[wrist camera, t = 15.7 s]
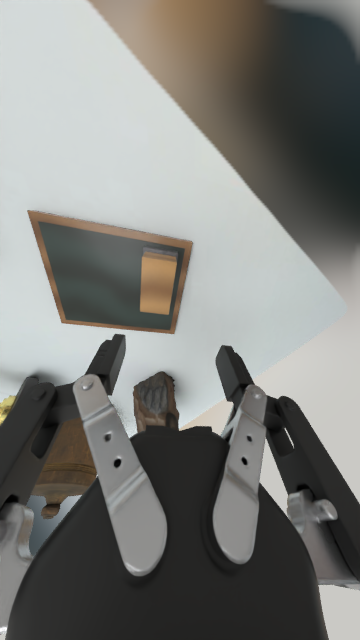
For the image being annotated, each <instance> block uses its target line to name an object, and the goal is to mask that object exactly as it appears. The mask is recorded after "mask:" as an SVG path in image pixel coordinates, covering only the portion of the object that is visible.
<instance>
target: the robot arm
mask: <svg viewBox="0 0 360 640" xmlns="http://www.w3.org/2000/svg"><path fill="white" fill-rule="evenodd" d="M125 351H126V342H125V335H121V334H115V335H114V336H113V339H112V340H106V341H105V342H103V343H102V344H101V346H100V347H99V349H98V351H97V353H96V356H95V357H94V359H93V360H92V362H91V364H90V366H89V368H88V370H87V372H86V373H85V375H84V376H82V377H80V378H79V379H77V380H76V382H74V383H71V384H66V385H62V386H57V387H55V386H54V385H53V384H52V383H48V382H45V383H40V384H37V385H35V386H33V387H31V388H29V389H28V390H27V391H26V392H25V393H24V394H23V395H22V397H21V398H20V399H19V401H18V402H17V403H16V405H15V406H14V407H13V409H12V410H11V411H10V413H9V414H8V415H7V417H6V418H5V419H4V421H3V422H2V423H1V425H0V635H1V634H4V633H6V638H5V640H329V638H328V634H327V630H326V626H325V622H324V617H323V612H322V606H321V600H320V593H319V587H318V585H336V586H340V587H345V588H350V589H356V590H360V504H359V502H358V501H357V499H356V498H355V496H354V494H353V493H352V491H351V489H350V488H349V486H348V485H347V483H346V481H345V480H344V478H343V476H342V475H341V473H340V472H339V470H338V468H337V467H336V465H335V464H334V462H333V460H332V459H331V457H330V456H329V454H328V453H327V451H326V449H325V448H324V446H323V444H322V443H321V442H320V440H319V438H318V436H317V435H316V433H315V432H314V430H313V428H312V427H311V425H310V423H309V422H308V420H307V419H306V417H305V416H304V414H303V412H302V411H301V409H300V408H299V406H298V405H297V404H296V402H294V401H293V400H292V399H290V398H289V397H286V396H281V397H280V398H279V399H276V398H273V397H270V396H267V395H266V394H265V392H264V391H263V390H262V389H261V388H260V387H258V386H256V385H255V384H254V382H253V380H252V378H251V376H250V374H249V372H248V370H247V368H246V366H245V364H244V362H243V360H242V358H241V357H240V356H239V355H238V354H237V353H235V352H234V350H233V348H232V347H231V346H225V345H222V346H221V348H220V350H219V352H218V354H217V357H216V366H217V370H218V373H219V376H220V380H221V383H222V386H223V389H224V393H225V396H226V399H227V401H230V402H233V404H234V405H233V407H232V409H231V412H230V414H229V417H228V420H227V423H226V425H225V428H224V430H223V432H222V434H221V436H219V435H218V434H216V433H214V432H212V428H211V427H209V426H207V427H205V426H203V427H202V426H195V427H193V428H189V429H185V430H182V431H178V430H175V429H172V428H169V427H166V426H159V425H146V429H145V430H144V431H141V432H139V433H137V434H135V435H133V436H132V437H131V438H129V437H128V435H127V433H126V431H125V429H124V427H123V424H122V422H121V420H120V418H119V416H118V414H117V411H116V409H115V407H114V406H113V405H112V404H111V402H110V400H109V398H108V396H107V395H112V393H113V390H114V387H115V384H116V381H117V378H118V375H119V371H120V368H121V365H122V362H123V359H124V356H125ZM79 417H81V419H82V424H83V427H84V431H85V434H86V437H87V441H88V444H89V448H90V451H91V454H92V458H93V461H94V464H95V468H96V471H97V474H98V476H97V478H96V479H95V480H94V481H93V483H92V484H91V485H90V486H89V487H88V489H87V490H86V491H85V492H84V494H83V495H82V496H81V497H80V499H79V500H78V501H77V502H76V503H75V505H74V506H73V507H72V508H71V510H70V511H69V512H68V513H67V515H66V516H65V517H64V518H63V520H62V521H61V522H60V523H59V524H58V526H57V527H56V528H55V530H54V531H53V532H52V533H51V534H50V536H49V537H48V538H47V539H46V541H45V542H44V543H43V545H42V546H41V547H40V549H39V550H38V552H37V553H36V555H35V556H34V557H33V556H32V555H31V554H30V551H29V537H30V533H31V529H32V526H33V521H34V515H33V511H32V510H31V509H30V508H29V507H26V504H27V502H28V500H29V498H30V495H31V493H32V491H33V489H34V487H35V484H36V482H37V480H38V478H39V476H40V473H41V471H42V469H43V467H44V465H45V462H46V460H47V458H48V456H49V454H50V451H51V449H52V447H53V445H54V443H55V440H56V438H57V436H58V434H59V432H60V429H61V427H62V425H63V423H64V422H66V421H69V420H73V419H76V418H79ZM284 428H286V430H287V431H288V433H289V435H290V438H291V440H292V442H293V444H294V448H293V446H292V444H291V442H290V440H289V437H288V435H287V433H286V431H285V429H284ZM265 437H266V439H267V441H268V444H269V447H270V449H271V452H272V454H273V457H274V459H275V462H276V465H277V467H278V470H279V472H280V475H281V478H282V480H283V483H284V485H285V488H286V491H287V493H288V500H287V505H288V508H287V514H288V517H289V518H288V517H287V516H286V515H285V513H284V512H283V511H282V510H281V508H280V507H279V506H278V505H277V503H276V502H275V501H274V500H273V498H272V497H271V496H270V495H269V493H268V492H267V491H266V490H265V488H264V487H263V486H262V485H261V483H260V482H259V480H260V473H261V465H262V458H263V451H264V444H265ZM289 519H290V520H291V521H290V520H289Z"/></svg>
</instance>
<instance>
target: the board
mask: <svg viewBox="0 0 360 640" xmlns="http://www.w3.org/2000/svg"><path fill="white" fill-rule="evenodd" d="M28 214H29V218H30V221H31V224H32V228H33V231H34V234H35V237H36V241H37V244H38V247H39V250H40V254H41V257H42V260H43V263H44V267H45V270H46V273H47V276H48V280H49V283H50V286H51V289H52V293H53V296H54V299H55V303H56V306H57V309H58V312H59V316H60V319H61V322H62V323H66V324H76V325H86V326H96V327H107V328H117V329H127V330H137V331H148V332H158V333H168V334H174V332H175V327H176V322H177V317H178V313H179V308H180V303H181V298H182V293H183V288H184V283H185V278H186V273H187V268H188V263H189V258H190V254H191V249H192V244H193V242H192V241H187V240H182V239H177V238H172V237H167V236H162V235H157V234H151V233H146V232H141V231H136V230H131V229H126V228H121V227H116V226H110V225H105V224H100V223H95V222H90V221H85V220H80V219H75V218H70V217H64V216H59V215H54V214H49V213H44V212H39V211H31V210H28ZM144 246H150V247H156V248H161V249H167V250H172V251H178V259H177V265H176V272H175V278H174V284H173V290H172V296H171V303H170V309H169V314H168V315H166V314H157V313H149V312H140V295H141V269H142V256H143V247H144Z"/></svg>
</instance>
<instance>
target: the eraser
mask: <svg viewBox="0 0 360 640" xmlns="http://www.w3.org/2000/svg"><path fill="white" fill-rule="evenodd" d="M177 259H178V251H172V250H167V249H161V248H156V247H150V246H144V247H143V256H142V269H141V295H140V312H149V313H157V314H166V315H168V314H169V309H170V303H171V296H172V290H173V284H174V278H175V272H176V265H177Z"/></svg>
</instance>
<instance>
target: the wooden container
mask: <svg viewBox="0 0 360 640" xmlns="http://www.w3.org/2000/svg"><path fill="white" fill-rule="evenodd" d="M96 475H97V471H96V468H95V464H94V461H93V458H92V454H91V451H90V448H89V444H88V441H87V437H86V434H85V431H84V427H83V424H82V419H81V417H79V418H76V419H73V420H69V421H66V422H64V423H63V425H62V427H61V429H60V432H59V434H58V436H57V438H56V440H55V443H54V445H53V447H52V449H51V451H50V454H49V456H48V458H47V460H46V462H45V465H44V467H43V469H42V471H41V473H40V476H39V478H38V480H37V482H36V484H35V487H34V489H33V491H32V493H31V495H36V496H44V497H45V498H46V503H47V505H46V506H45V507H44V508H43V509H42V512H41V516H43V519H51V518H53V516H55V515H57V514H58V512H59V509H60V504H61V503H62V502H63V501H64V499H66V498H67V497H68V496H76V495H83V494H84V492H85V491H86V490H87V489H88V487H89V486H90V485H91V484H92V483H93V481H94V480H95V479H96Z"/></svg>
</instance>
